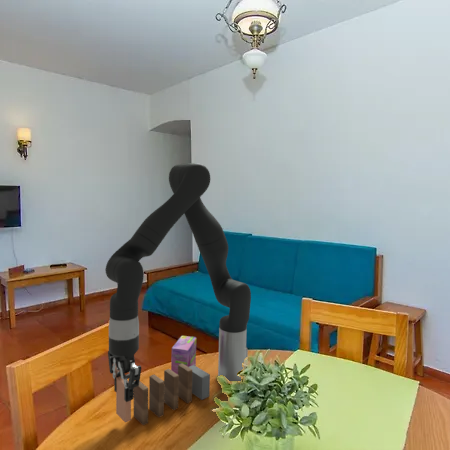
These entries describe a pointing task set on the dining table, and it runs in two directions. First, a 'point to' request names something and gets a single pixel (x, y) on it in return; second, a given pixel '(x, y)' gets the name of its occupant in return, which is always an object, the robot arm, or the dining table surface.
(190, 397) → the domino
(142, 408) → the domino
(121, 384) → the domino end
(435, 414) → the dining table surface
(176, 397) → the domino
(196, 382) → the block
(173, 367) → the box
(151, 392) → the domino
